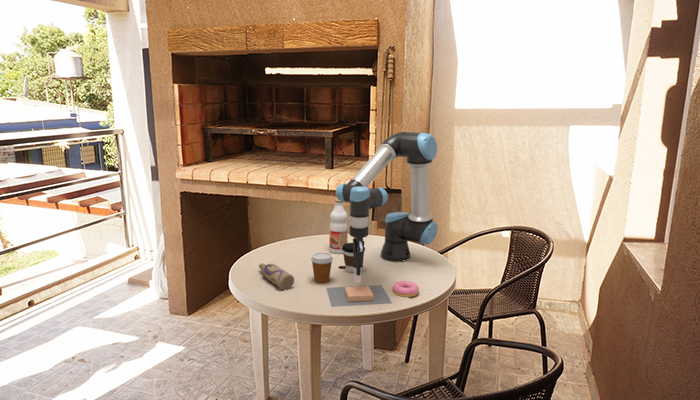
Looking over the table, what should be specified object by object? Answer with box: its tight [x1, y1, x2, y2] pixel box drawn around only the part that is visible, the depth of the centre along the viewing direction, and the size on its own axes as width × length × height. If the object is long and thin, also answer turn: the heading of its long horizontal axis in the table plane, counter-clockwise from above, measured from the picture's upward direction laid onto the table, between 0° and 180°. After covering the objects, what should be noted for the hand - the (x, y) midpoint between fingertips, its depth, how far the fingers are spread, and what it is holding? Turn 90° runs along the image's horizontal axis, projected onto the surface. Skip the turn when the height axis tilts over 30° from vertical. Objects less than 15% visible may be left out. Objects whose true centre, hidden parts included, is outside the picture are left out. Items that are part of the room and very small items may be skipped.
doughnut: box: [392, 280, 420, 298], centre depth 187 cm, size 11×11×4 cm
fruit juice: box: [329, 198, 349, 255], centre depth 235 cm, size 9×9×28 cm
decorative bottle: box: [258, 262, 295, 291], centre depth 198 cm, size 26×8×7 cm, turn 36°
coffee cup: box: [342, 242, 366, 274], centre depth 210 cm, size 11×11×12 cm
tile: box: [344, 285, 373, 302], centre depth 181 cm, size 10×2×9 cm
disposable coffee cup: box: [310, 252, 334, 284], centre depth 196 cm, size 10×10×12 cm
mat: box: [325, 284, 393, 308], centre depth 183 cm, size 24×18×1 cm
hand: (357, 281), depth 183 cm, fingers closed
